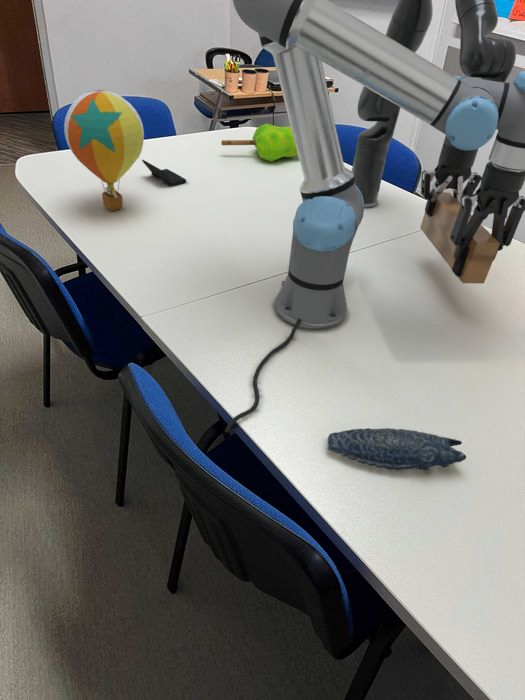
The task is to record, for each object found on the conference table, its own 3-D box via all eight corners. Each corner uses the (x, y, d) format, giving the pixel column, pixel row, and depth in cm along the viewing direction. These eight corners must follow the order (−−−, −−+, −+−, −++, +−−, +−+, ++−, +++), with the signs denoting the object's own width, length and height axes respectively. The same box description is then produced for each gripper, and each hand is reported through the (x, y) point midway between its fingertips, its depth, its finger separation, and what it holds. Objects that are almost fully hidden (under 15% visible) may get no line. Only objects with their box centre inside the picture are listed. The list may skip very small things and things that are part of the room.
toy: (64, 203, 145) (44, 85, 127) (127, 189, 156) (117, 79, 137) (97, 229, 134) (80, 105, 116) (162, 213, 145) (156, 96, 126)
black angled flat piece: (190, 175, 164) (173, 153, 156) (179, 193, 163) (161, 172, 155) (166, 170, 170) (147, 148, 162) (155, 188, 169) (136, 167, 161)
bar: (483, 283, 110) (500, 243, 104) (462, 283, 109) (477, 242, 103) (438, 228, 130) (449, 192, 124) (420, 228, 129) (430, 191, 124)
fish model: (464, 484, 79) (474, 462, 76) (325, 466, 80) (330, 444, 77) (456, 450, 84) (465, 429, 81) (326, 434, 85) (331, 412, 82)
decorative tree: (218, 120, 186) (299, 120, 191) (218, 150, 192) (297, 149, 197) (225, 135, 172) (312, 134, 177) (225, 166, 178) (309, 165, 184)
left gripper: (541, 160, 101) (498, 265, 116) (455, 156, 99) (422, 264, 113) (562, 174, 95) (515, 283, 110) (471, 171, 93) (434, 282, 108)
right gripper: (484, 138, 118) (461, 209, 128) (424, 135, 116) (405, 208, 126) (500, 149, 112) (474, 223, 122) (437, 146, 110) (416, 221, 121)
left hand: (468, 273), depth 112 cm, fingers closed on bar, 5 cm apart
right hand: (439, 215), depth 124 cm, fingers closed on bar, 5 cm apart
